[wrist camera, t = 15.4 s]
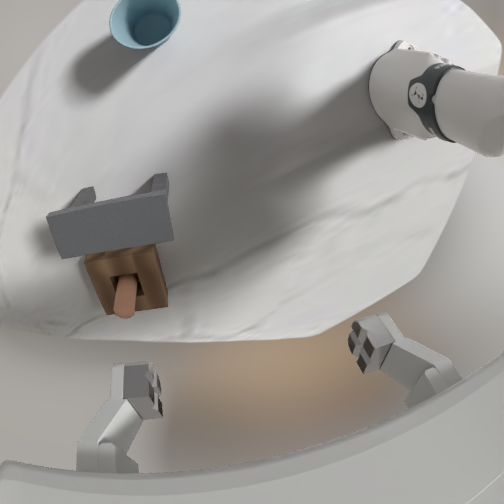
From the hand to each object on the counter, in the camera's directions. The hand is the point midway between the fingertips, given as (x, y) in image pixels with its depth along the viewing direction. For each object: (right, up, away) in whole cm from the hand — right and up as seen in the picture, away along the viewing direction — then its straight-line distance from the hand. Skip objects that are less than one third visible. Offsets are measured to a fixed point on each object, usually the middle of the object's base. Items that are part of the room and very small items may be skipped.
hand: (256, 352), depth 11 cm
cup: (-14, +34, +19) cm, 41 cm away
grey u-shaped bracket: (-20, +14, +31) cm, 39 cm away
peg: (-22, 0, +40) cm, 46 cm away
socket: (-22, 0, +40) cm, 46 cm away
